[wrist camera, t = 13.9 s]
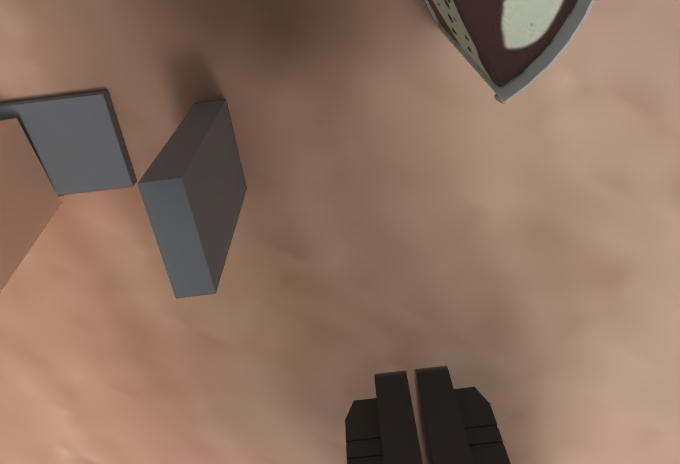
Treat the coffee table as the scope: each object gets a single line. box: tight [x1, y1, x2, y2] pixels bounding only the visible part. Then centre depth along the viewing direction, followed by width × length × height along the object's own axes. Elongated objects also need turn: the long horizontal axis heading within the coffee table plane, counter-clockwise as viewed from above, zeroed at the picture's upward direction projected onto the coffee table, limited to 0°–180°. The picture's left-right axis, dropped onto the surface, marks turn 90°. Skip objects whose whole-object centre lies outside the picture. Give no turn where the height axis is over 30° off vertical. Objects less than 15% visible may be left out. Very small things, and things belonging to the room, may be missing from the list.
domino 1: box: [138, 99, 247, 298], centre depth 25 cm, size 5×2×10 cm, turn 8°
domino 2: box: [0, 90, 137, 196], centre depth 30 cm, size 5×2×10 cm
